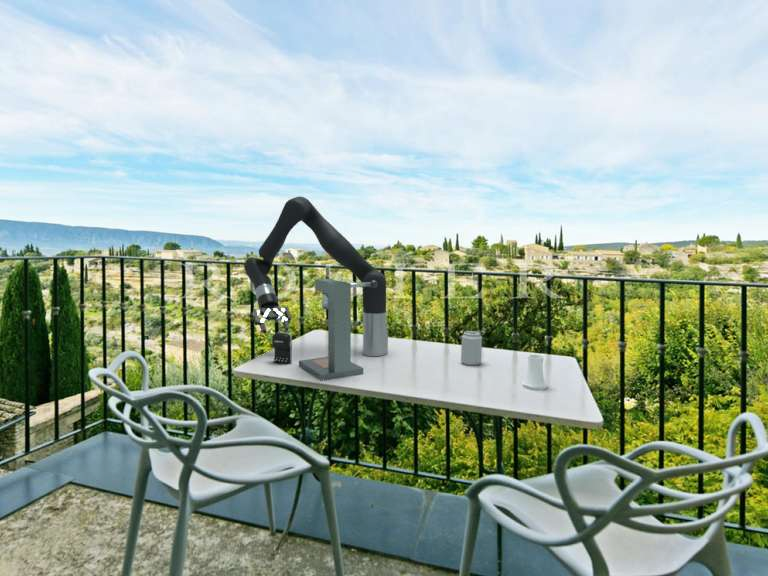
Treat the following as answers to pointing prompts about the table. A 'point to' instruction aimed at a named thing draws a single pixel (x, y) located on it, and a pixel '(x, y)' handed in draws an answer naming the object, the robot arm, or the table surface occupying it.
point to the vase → (535, 373)
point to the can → (471, 348)
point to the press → (336, 331)
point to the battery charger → (282, 347)
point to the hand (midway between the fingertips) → (276, 331)
